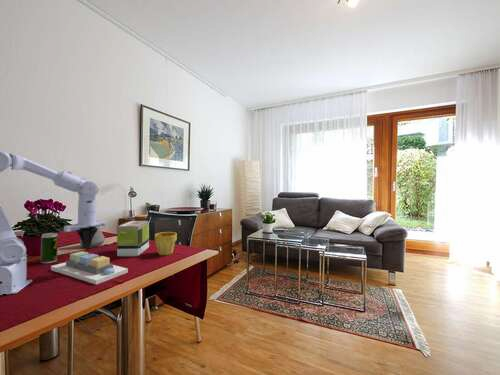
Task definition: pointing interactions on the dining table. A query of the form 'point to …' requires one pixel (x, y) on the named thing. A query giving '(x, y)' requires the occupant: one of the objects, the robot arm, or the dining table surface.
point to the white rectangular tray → (89, 271)
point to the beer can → (49, 248)
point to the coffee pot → (96, 239)
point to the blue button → (87, 259)
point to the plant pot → (165, 242)
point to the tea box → (132, 238)
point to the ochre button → (99, 262)
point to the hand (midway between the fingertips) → (86, 246)
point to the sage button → (77, 256)
